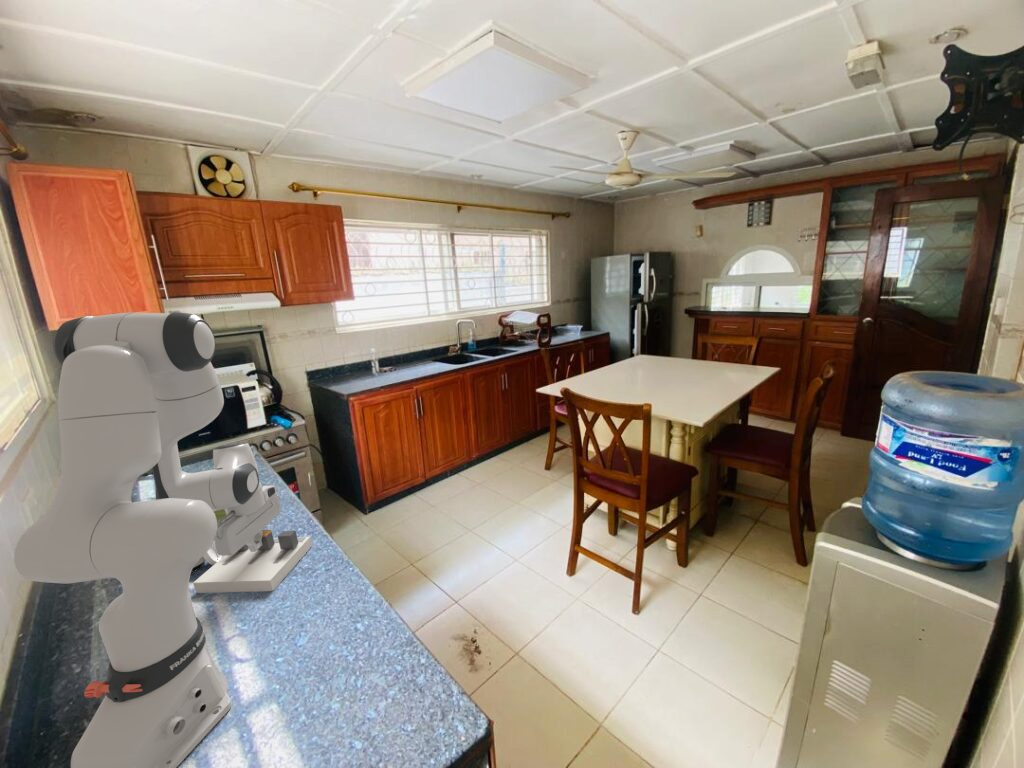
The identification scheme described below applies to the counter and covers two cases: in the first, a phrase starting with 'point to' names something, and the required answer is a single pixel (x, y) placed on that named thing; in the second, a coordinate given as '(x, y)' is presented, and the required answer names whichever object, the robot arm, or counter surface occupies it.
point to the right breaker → (288, 540)
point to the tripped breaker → (267, 540)
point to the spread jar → (208, 557)
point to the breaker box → (252, 569)
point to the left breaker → (243, 548)
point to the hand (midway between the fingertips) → (256, 548)
